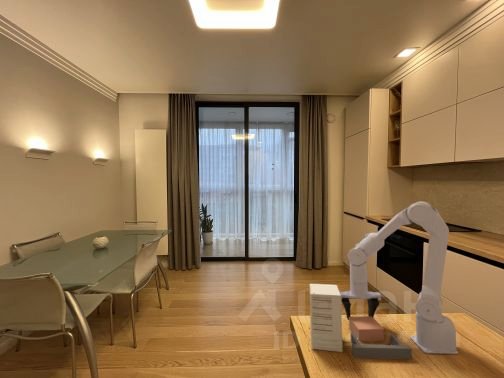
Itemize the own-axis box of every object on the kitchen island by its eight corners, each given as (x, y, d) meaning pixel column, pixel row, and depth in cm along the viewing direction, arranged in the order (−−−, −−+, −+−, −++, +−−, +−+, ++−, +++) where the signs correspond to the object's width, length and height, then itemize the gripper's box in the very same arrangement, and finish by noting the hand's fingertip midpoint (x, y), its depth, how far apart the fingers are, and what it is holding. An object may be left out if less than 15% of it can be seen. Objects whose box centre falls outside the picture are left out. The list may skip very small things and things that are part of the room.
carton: (372, 327, 87) (371, 316, 87) (384, 341, 79) (383, 328, 79) (349, 328, 87) (349, 316, 87) (359, 342, 79) (358, 329, 79)
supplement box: (343, 353, 74) (341, 296, 74) (311, 349, 76) (309, 294, 76) (338, 334, 83) (337, 284, 83) (310, 332, 85) (309, 282, 85)
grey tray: (398, 343, 78) (398, 333, 78) (412, 359, 70) (411, 348, 70) (346, 342, 79) (345, 332, 79) (354, 357, 71) (353, 347, 71)
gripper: (374, 277, 93) (375, 313, 93) (335, 277, 94) (336, 313, 94) (383, 284, 86) (384, 323, 85) (340, 284, 87) (341, 323, 87)
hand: (359, 319), depth 89 cm, fingers open, 7 cm apart
